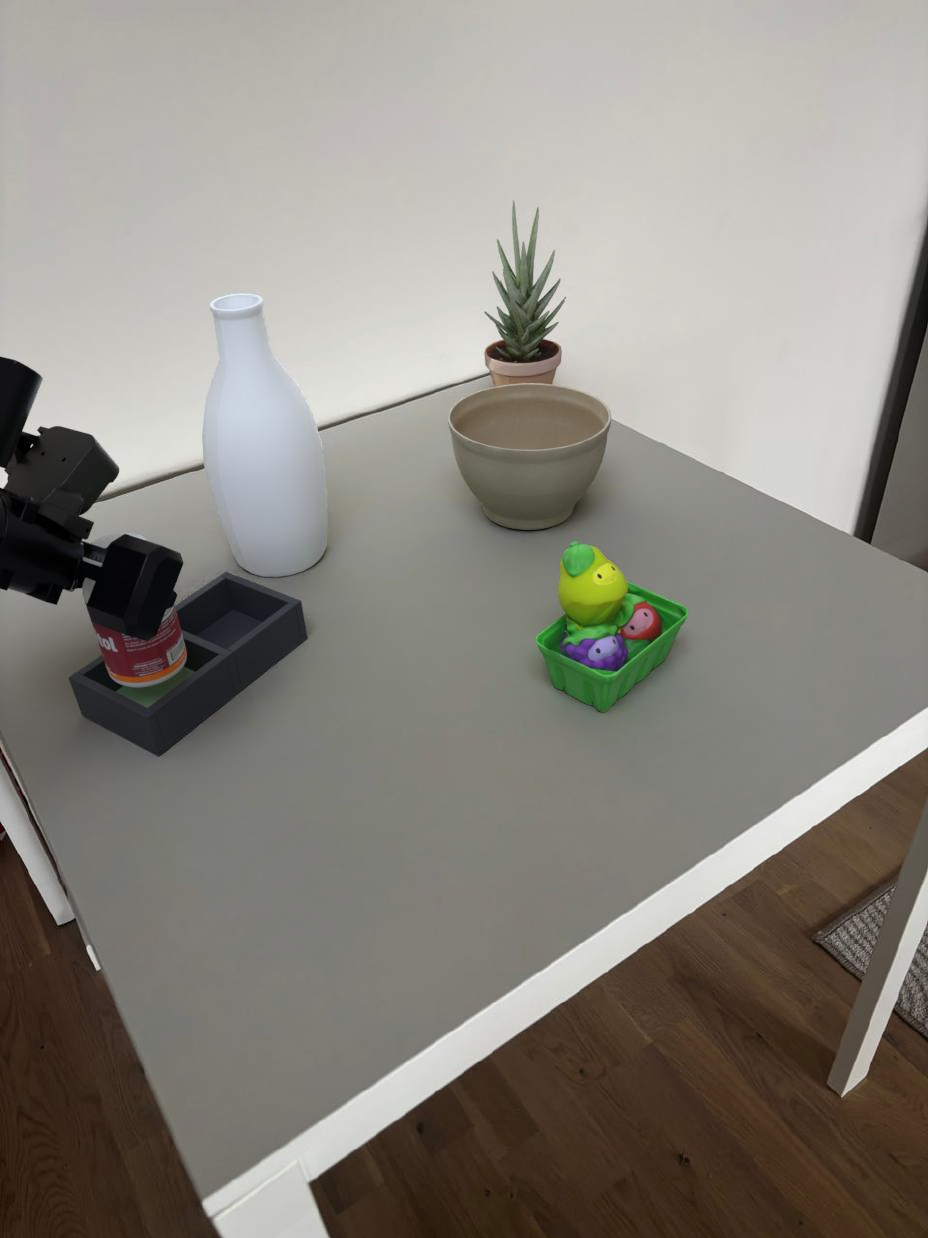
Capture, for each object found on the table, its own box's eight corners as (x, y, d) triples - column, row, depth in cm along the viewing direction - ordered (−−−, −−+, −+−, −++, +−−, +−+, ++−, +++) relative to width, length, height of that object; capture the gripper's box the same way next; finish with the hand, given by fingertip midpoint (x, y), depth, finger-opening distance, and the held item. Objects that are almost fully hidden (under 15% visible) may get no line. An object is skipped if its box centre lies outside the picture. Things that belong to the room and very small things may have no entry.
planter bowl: (624, 539, 97) (631, 439, 91) (465, 558, 95) (461, 458, 89) (584, 466, 110) (587, 374, 103) (443, 481, 108) (438, 389, 102)
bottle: (348, 570, 94) (314, 311, 79) (234, 595, 92) (176, 332, 77) (323, 516, 103) (288, 273, 88) (218, 538, 100) (163, 291, 85)
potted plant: (531, 383, 129) (532, 185, 115) (575, 407, 123) (581, 200, 108) (468, 402, 125) (460, 199, 111) (510, 428, 119) (507, 216, 104)
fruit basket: (606, 729, 75) (614, 611, 68) (519, 682, 80) (518, 567, 73) (687, 659, 81) (701, 544, 75) (601, 618, 86) (608, 508, 80)
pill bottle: (101, 657, 78) (63, 540, 72) (177, 634, 80) (147, 518, 74) (118, 701, 74) (79, 580, 67) (197, 674, 76) (167, 555, 69)
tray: (158, 757, 74) (146, 717, 72) (82, 716, 79) (67, 677, 76) (308, 638, 86) (301, 600, 83) (233, 608, 90) (225, 571, 88)
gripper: (126, 437, 57) (274, 518, 71) (-75, 384, 65) (95, 466, 79) (57, 617, 56) (221, 662, 70) (-138, 541, 64) (45, 595, 78)
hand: (142, 589), depth 74 cm, fingers closed on pill bottle, 6 cm apart
